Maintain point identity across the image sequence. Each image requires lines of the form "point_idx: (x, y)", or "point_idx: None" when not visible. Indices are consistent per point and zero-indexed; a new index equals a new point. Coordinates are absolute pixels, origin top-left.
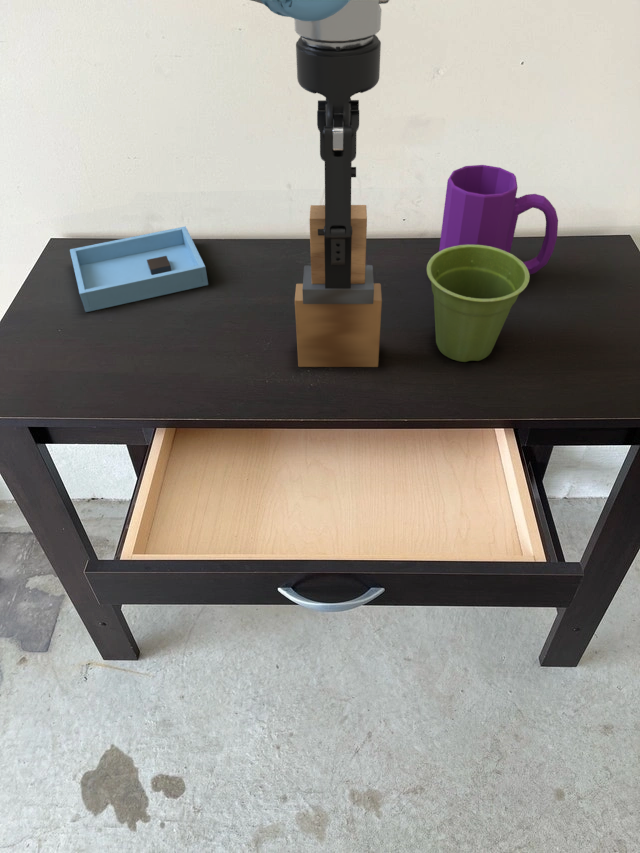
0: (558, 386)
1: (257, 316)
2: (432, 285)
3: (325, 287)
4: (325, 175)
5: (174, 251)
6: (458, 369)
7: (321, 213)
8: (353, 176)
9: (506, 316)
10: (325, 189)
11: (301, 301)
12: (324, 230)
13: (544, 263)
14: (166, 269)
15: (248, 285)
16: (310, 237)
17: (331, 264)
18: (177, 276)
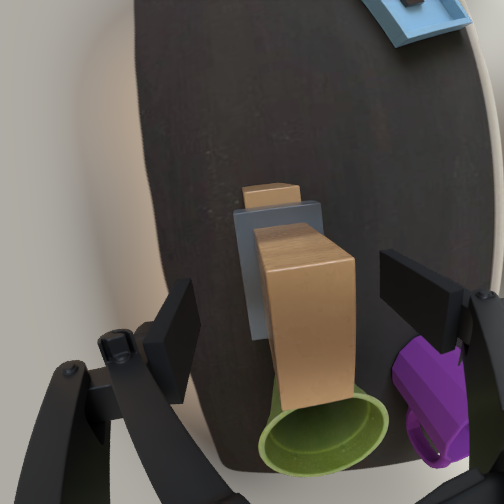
0: (250, 438)
1: (343, 114)
2: None
3: (176, 281)
4: (18, 494)
5: (439, 12)
6: (264, 369)
7: (302, 301)
8: (459, 359)
9: (293, 436)
10: (28, 457)
11: (245, 204)
12: (64, 370)
13: (407, 433)
14: (403, 1)
15: (405, 96)
16: (260, 255)
17: (143, 324)
18: (383, 9)
